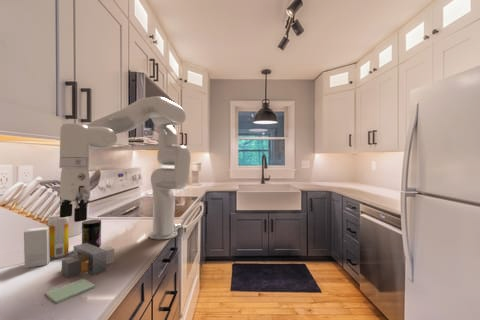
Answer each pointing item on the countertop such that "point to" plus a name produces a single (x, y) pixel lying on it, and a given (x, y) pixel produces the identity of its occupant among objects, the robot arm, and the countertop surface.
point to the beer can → (58, 235)
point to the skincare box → (36, 247)
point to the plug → (82, 264)
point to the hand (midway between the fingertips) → (72, 218)
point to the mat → (69, 290)
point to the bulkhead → (91, 257)
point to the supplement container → (91, 232)
